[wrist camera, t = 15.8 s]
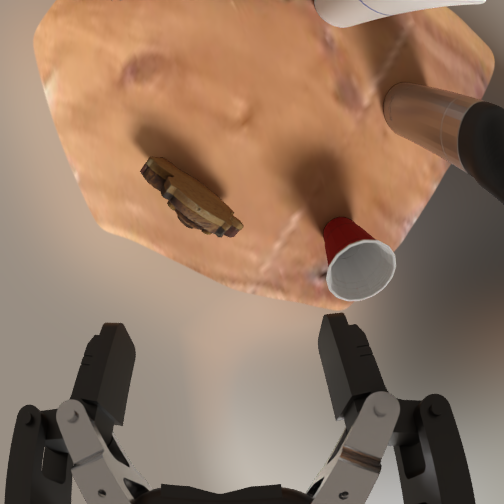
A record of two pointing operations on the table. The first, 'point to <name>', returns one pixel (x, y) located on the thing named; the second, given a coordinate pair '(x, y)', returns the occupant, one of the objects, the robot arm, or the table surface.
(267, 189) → the table surface
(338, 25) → the cylindrical container
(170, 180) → the wooden carving
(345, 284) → the plastic cup
